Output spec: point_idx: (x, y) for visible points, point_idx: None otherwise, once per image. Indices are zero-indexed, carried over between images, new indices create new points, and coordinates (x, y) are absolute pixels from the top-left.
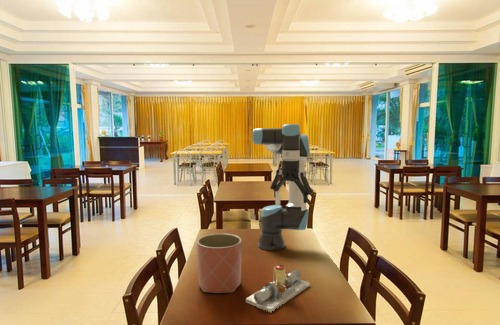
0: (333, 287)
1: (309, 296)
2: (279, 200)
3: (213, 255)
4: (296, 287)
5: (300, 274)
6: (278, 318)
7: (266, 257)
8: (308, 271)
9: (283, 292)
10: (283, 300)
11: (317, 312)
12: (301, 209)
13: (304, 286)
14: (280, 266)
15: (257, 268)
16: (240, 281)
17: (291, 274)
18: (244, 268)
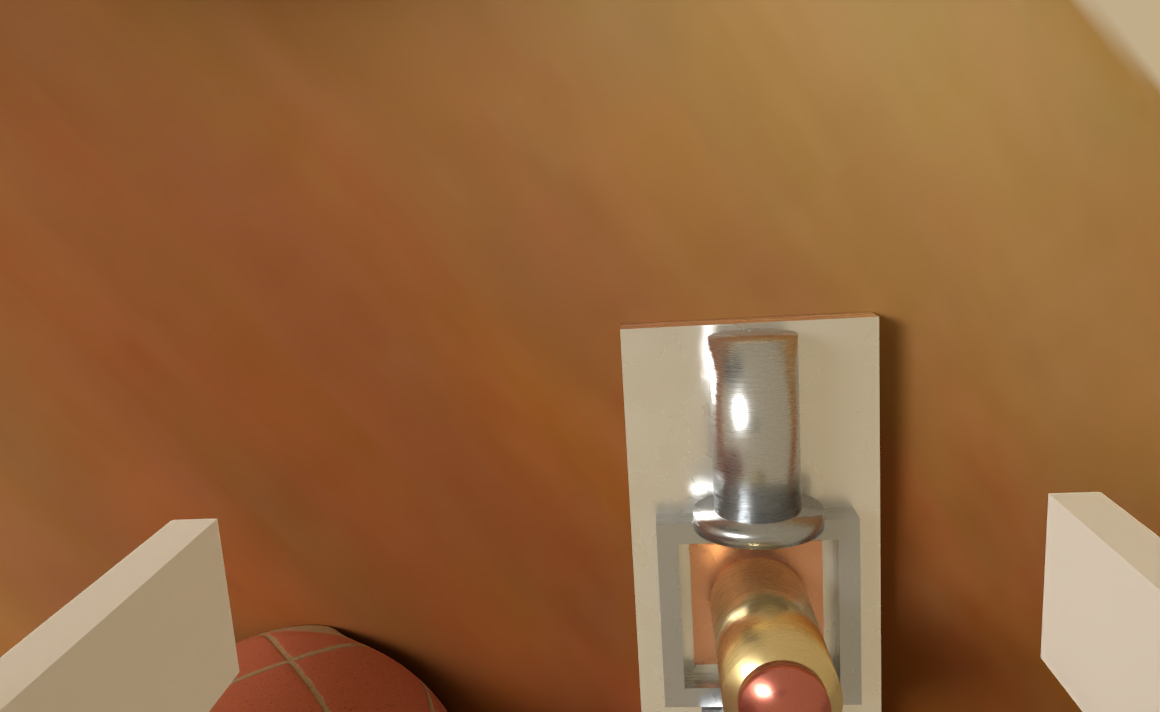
0: (1062, 186)
1: (970, 468)
2: (162, 614)
3: None
4: (840, 470)
5: (797, 343)
6: None
7: (154, 53)
8: (696, 43)
9: (849, 671)
10: (880, 702)
11: None
12: (1060, 673)
13: (878, 400)
14: (790, 705)
15: (292, 336)
16: (434, 705)
17: (772, 463)
18: (211, 417)
